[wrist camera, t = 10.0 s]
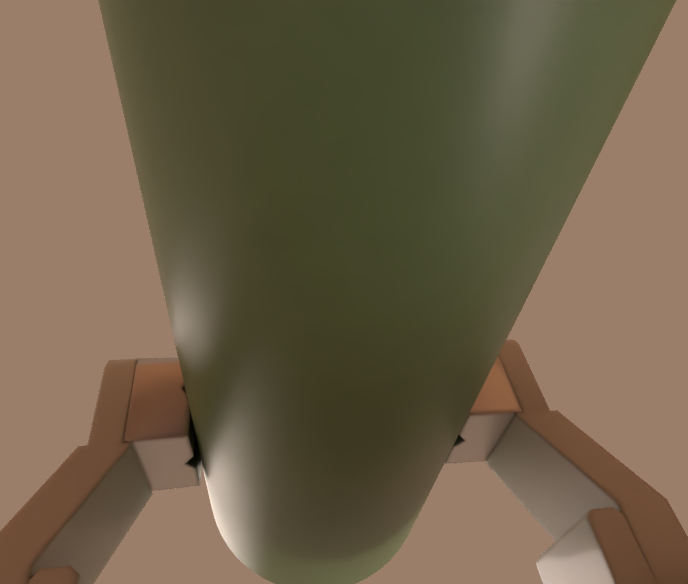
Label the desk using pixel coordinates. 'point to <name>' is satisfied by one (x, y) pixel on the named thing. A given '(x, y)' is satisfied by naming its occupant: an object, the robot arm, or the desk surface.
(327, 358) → the bottle
